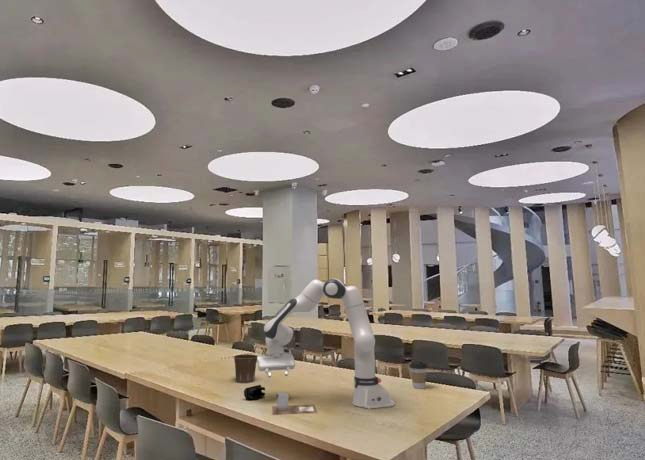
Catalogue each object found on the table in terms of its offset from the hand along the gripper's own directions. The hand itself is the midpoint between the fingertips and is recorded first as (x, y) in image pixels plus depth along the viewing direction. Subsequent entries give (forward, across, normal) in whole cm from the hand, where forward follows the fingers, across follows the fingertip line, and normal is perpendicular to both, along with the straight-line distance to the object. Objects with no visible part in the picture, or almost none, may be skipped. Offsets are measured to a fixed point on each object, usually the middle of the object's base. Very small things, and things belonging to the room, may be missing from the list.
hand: (278, 376), depth 215 cm
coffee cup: (+3, +91, +19) cm, 93 cm away
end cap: (-1, -10, +23) cm, 26 cm away
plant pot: (-33, -10, +55) cm, 65 cm away
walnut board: (+20, +6, +1) cm, 21 cm away
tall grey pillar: (+18, 0, +2) cm, 18 cm away
